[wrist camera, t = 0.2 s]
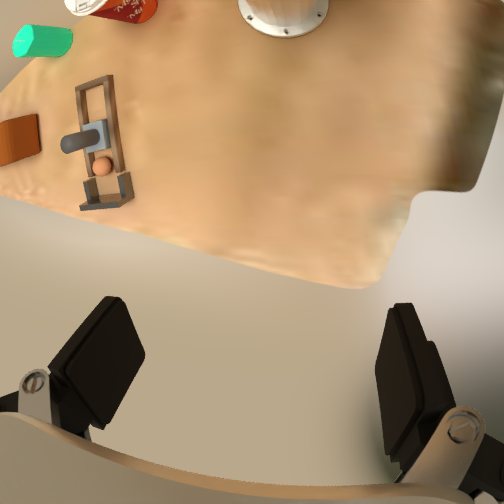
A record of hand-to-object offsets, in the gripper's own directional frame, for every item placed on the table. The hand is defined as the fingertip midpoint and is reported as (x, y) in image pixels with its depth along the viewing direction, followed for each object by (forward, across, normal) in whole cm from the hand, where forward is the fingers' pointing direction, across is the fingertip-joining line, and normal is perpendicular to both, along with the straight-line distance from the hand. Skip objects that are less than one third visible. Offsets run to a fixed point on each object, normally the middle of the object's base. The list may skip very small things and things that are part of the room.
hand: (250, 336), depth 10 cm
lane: (+36, +31, -8) cm, 49 cm away
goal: (+36, +32, +2) cm, 48 cm away
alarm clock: (+37, +60, -13) cm, 71 cm away
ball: (+35, +31, -2) cm, 47 cm away
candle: (+37, +39, -28) cm, 61 cm away
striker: (+36, +31, -7) cm, 49 cm away
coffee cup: (+37, +21, -28) cm, 51 cm away
